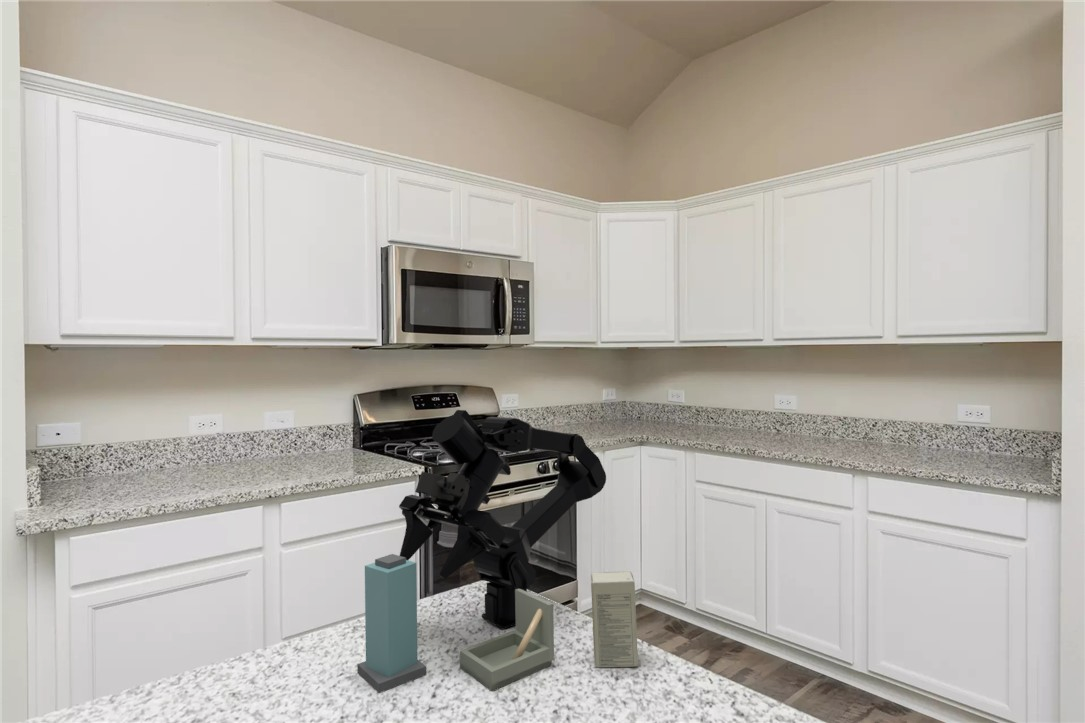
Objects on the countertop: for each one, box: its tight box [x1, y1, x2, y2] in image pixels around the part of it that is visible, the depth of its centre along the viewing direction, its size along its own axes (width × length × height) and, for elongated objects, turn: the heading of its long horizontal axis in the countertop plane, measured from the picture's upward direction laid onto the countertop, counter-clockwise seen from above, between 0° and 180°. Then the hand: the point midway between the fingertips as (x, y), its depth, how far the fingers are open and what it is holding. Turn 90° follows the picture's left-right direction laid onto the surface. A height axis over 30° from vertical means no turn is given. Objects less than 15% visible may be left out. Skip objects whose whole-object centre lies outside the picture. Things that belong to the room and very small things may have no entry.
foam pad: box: [356, 659, 427, 694], centre depth 83 cm, size 7×7×1 cm
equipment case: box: [459, 589, 555, 692], centre depth 85 cm, size 11×8×9 cm
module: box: [364, 553, 419, 677], centre depth 84 cm, size 5×5×15 cm
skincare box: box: [590, 571, 639, 668], centre depth 86 cm, size 6×4×12 cm
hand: (420, 569), depth 87 cm, fingers open, 9 cm apart
